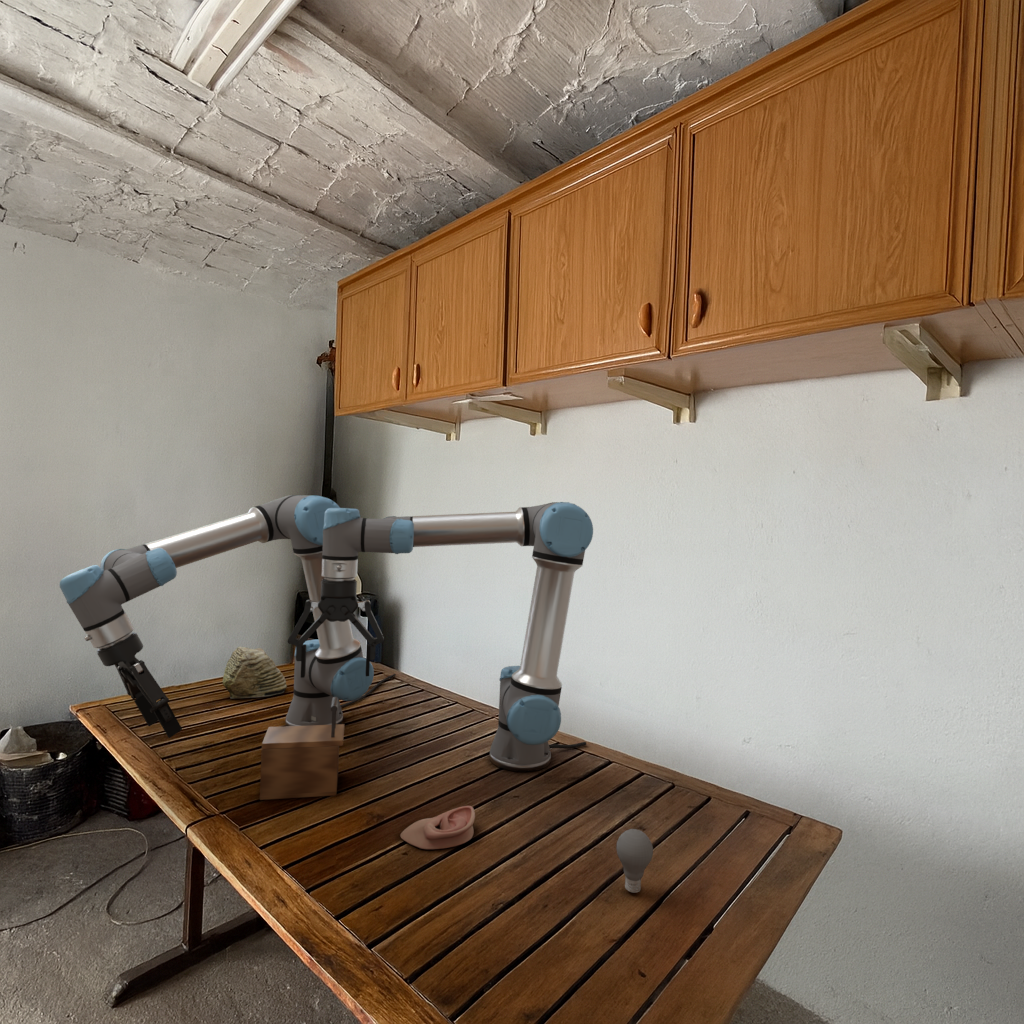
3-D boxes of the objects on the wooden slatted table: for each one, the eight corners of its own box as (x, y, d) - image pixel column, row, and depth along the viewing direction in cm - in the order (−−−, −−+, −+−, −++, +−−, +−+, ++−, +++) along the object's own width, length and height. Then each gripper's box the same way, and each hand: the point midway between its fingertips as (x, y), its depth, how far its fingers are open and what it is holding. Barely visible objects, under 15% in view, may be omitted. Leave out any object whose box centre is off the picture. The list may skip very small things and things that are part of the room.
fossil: (218, 695, 195) (220, 647, 195) (278, 685, 208) (279, 640, 207) (228, 703, 189) (230, 653, 188) (289, 692, 201) (290, 645, 201)
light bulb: (610, 879, 108) (613, 822, 108) (644, 879, 109) (647, 822, 109) (619, 902, 102) (622, 840, 102) (655, 901, 103) (658, 840, 103)
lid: (344, 729, 144) (345, 694, 144) (342, 745, 135) (344, 708, 135) (268, 732, 140) (269, 695, 140) (261, 749, 131) (263, 710, 131)
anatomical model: (394, 823, 116) (416, 795, 127) (393, 844, 116) (415, 814, 128) (464, 834, 114) (480, 804, 125) (463, 855, 114) (479, 824, 125)
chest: (338, 775, 144) (339, 729, 144) (336, 795, 135) (338, 746, 135) (266, 779, 141) (268, 732, 140) (259, 800, 131) (261, 749, 131)
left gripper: (81, 645, 134) (130, 728, 139) (111, 656, 116) (165, 751, 121) (118, 626, 139) (164, 707, 144) (152, 634, 121) (203, 726, 126)
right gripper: (276, 580, 132) (272, 681, 132) (398, 581, 137) (394, 678, 138) (281, 575, 139) (277, 671, 139) (396, 577, 145) (392, 669, 145)
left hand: (165, 727), depth 132 cm, fingers open, 13 cm apart
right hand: (335, 675), depth 139 cm, fingers open, 13 cm apart
